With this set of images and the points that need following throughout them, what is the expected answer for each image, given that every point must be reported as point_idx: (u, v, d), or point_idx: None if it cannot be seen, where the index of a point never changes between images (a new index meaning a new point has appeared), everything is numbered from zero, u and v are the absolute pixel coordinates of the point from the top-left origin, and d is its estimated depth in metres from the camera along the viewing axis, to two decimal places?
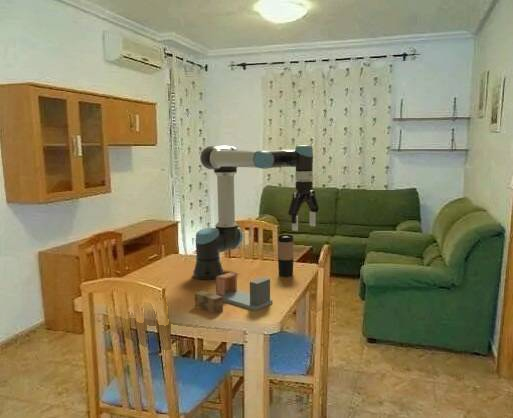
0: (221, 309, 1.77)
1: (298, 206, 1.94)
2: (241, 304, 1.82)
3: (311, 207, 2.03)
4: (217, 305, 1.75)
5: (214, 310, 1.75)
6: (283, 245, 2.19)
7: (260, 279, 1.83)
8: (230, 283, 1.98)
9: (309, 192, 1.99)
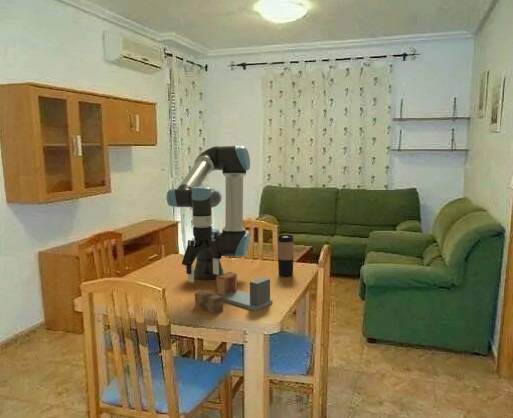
0: (221, 309, 1.77)
1: (194, 255, 1.74)
2: (241, 304, 1.82)
3: (213, 254, 1.83)
4: (217, 305, 1.75)
5: (214, 310, 1.75)
6: (283, 245, 2.19)
7: (260, 279, 1.83)
8: (230, 283, 1.98)
9: (209, 238, 1.79)
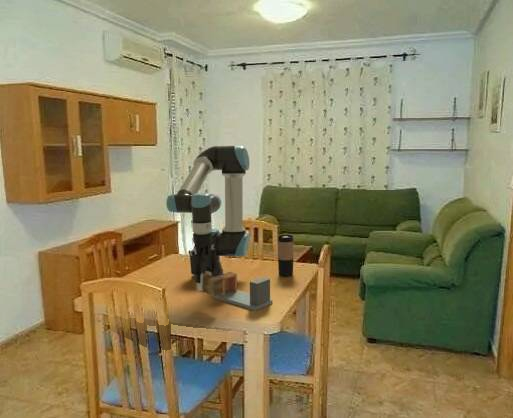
0: (221, 291, 1.77)
1: (199, 264, 1.77)
2: (241, 304, 1.82)
3: (207, 264, 1.81)
4: (217, 286, 1.75)
5: (214, 292, 1.75)
6: (283, 245, 2.19)
7: (260, 279, 1.83)
8: (230, 283, 1.98)
9: (210, 243, 1.80)
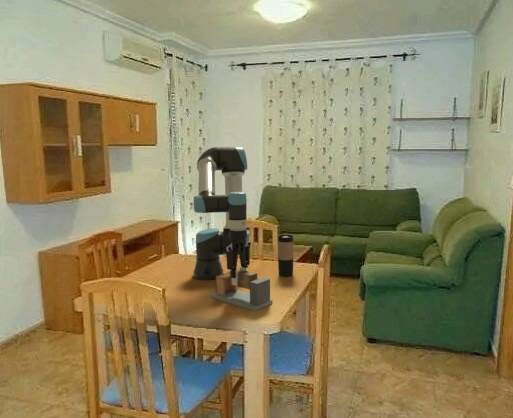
0: None
1: (235, 259, 1.85)
2: (241, 304, 1.82)
3: (242, 260, 1.90)
4: None
5: (249, 286, 1.82)
6: (283, 245, 2.19)
7: (260, 279, 1.83)
8: None
9: (244, 240, 1.88)
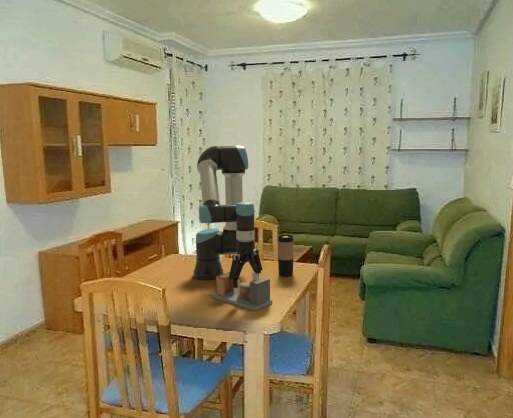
0: None
1: (239, 269, 1.81)
2: (241, 304, 1.82)
3: (254, 268, 1.89)
4: None
5: None
6: (283, 245, 2.19)
7: (260, 279, 1.83)
8: (230, 283, 1.98)
9: (252, 251, 1.86)
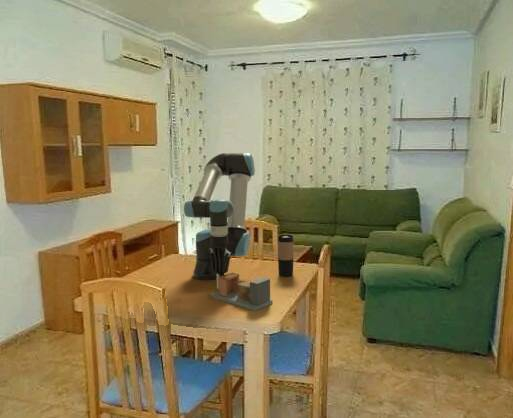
0: None
1: (215, 262, 1.96)
2: (241, 304, 1.82)
3: None
4: None
5: None
6: (283, 245, 2.19)
7: (260, 279, 1.83)
8: (232, 284, 1.97)
9: (222, 248, 1.92)
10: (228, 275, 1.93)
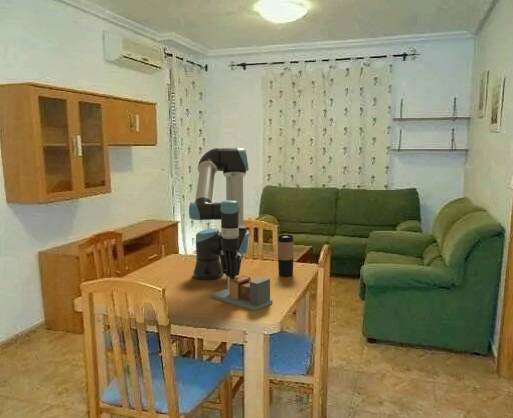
0: None
1: (225, 265, 1.92)
2: (241, 304, 1.82)
3: None
4: None
5: None
6: (283, 245, 2.19)
7: (260, 279, 1.83)
8: None
9: (233, 250, 1.88)
10: (239, 278, 1.89)
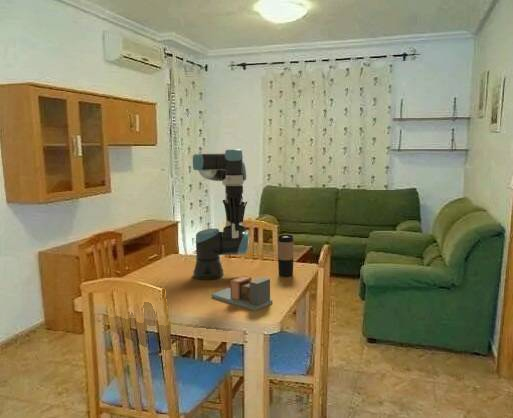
0: None
1: (230, 212, 1.98)
2: (241, 304, 1.82)
3: None
4: None
5: None
6: (283, 245, 2.19)
7: (260, 279, 1.83)
8: None
9: (237, 197, 1.94)
10: (240, 278, 1.89)
